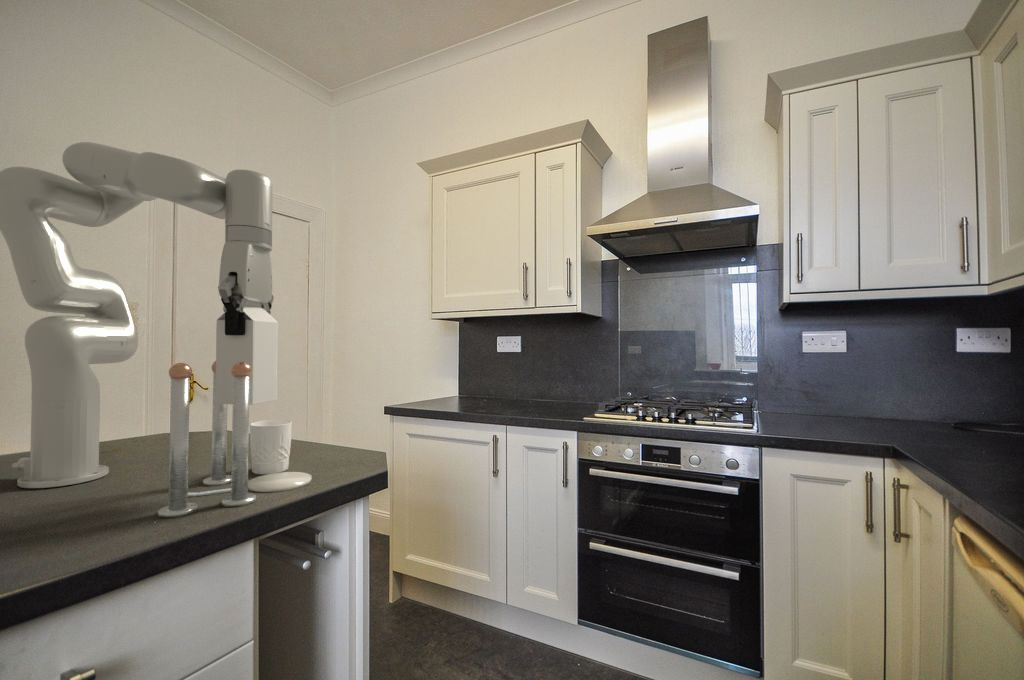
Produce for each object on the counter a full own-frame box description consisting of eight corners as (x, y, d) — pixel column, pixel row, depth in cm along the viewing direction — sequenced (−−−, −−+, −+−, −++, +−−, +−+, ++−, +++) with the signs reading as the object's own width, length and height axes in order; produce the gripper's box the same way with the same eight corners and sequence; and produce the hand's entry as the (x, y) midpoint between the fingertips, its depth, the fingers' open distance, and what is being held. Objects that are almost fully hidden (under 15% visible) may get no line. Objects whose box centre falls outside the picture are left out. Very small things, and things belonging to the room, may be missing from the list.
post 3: (215, 507, 74) (217, 362, 74) (232, 496, 79) (234, 361, 79) (246, 506, 74) (249, 362, 74) (261, 496, 79) (264, 361, 80)
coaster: (234, 492, 81) (234, 488, 81) (264, 474, 92) (264, 471, 92) (297, 492, 82) (297, 488, 82) (320, 474, 93) (320, 471, 93)
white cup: (262, 477, 90) (263, 427, 91) (241, 471, 95) (242, 423, 95) (299, 468, 97) (299, 422, 97) (277, 463, 101) (278, 418, 101)
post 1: (149, 518, 69) (152, 363, 69) (172, 506, 74) (175, 362, 74) (183, 517, 69) (186, 363, 70) (204, 506, 74) (206, 362, 75)
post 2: (197, 485, 85) (199, 359, 85) (213, 477, 90) (215, 359, 90) (224, 485, 85) (226, 360, 86) (239, 477, 90) (241, 359, 90)
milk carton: (277, 400, 87) (278, 301, 87) (252, 405, 80) (253, 297, 80) (243, 400, 88) (244, 301, 88) (215, 405, 80) (216, 297, 81)
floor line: (168, 499, 78) (168, 497, 78) (173, 494, 80) (173, 492, 80) (244, 491, 82) (244, 489, 82) (246, 487, 84) (246, 485, 84)
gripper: (253, 250, 93) (252, 336, 92) (197, 228, 75) (196, 334, 75) (290, 250, 93) (290, 336, 93) (243, 228, 76) (242, 334, 75)
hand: (248, 335), depth 84 cm, fingers closed on milk carton, 7 cm apart
